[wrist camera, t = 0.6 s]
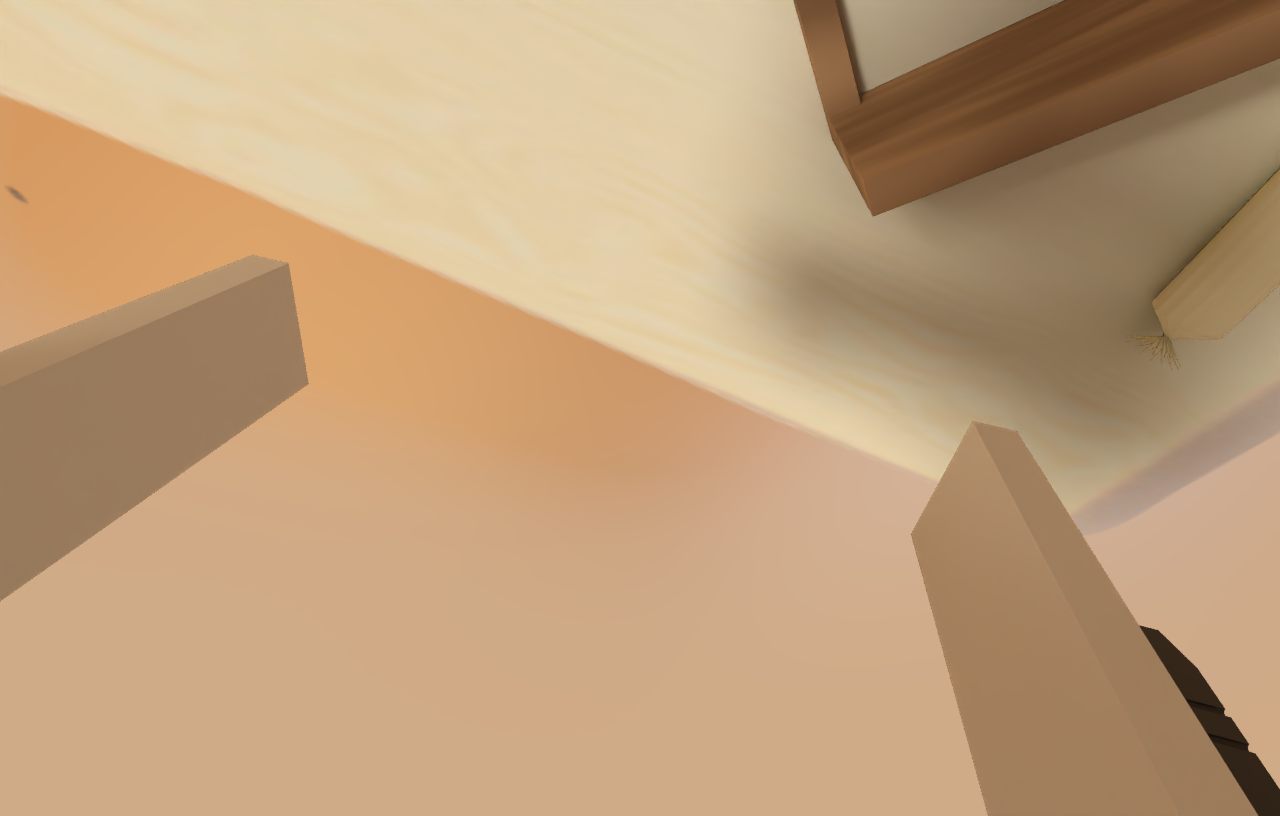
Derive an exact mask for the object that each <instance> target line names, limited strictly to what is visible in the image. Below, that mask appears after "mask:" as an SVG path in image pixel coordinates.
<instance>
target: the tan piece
mask: <svg viewBox="0 0 1280 816" xmlns="http://www.w3.org/2000/svg"><path fill="white" fill-rule="evenodd" d="M1279 284H1280V169H1279V170H1278V171H1277V172H1276V173H1275V174H1274V175H1273V176H1272V177H1271V178H1270V179H1269V180H1268V182H1267V183H1266V184H1265V185H1264V186H1263V187H1262V188H1261V189H1260V190H1259V191H1258V192H1257V193H1256V194H1255V195H1254V196H1253V197H1252V198H1251V199H1250V200H1249V201H1248V202H1247V203H1246V204H1245V205H1244V207H1243V208H1242V209H1241V210H1240V211H1239V212H1238V213H1237V214H1236V215H1235V216H1234V217H1233V218H1232V219H1231V220H1230V221H1229V222H1228V223H1227V224H1226V225H1225V226H1224V227H1223V228H1222V229H1221V230H1220V232H1219V233H1218V234H1217V235H1216V236H1215V237H1214V238H1213V239H1212V240H1211V241H1210V242H1209V243H1208V244H1207V245H1206V246H1205V247H1204V248H1203V249H1202V250H1201V251H1200V252H1199V253H1198V254H1197V255H1196V256H1195V257H1194V259H1193V260H1192V261H1191V262H1190V263H1189V264H1188V265H1187V266H1186V267H1185V268H1184V269H1183V270H1182V271H1181V272H1180V273H1179V274H1178V275H1177V276H1176V277H1175V278H1174V279H1173V280H1172V281H1171V282H1170V283H1169V284H1168V285H1167V286H1166V287H1165V289H1164V290H1163V291H1162V292H1161V293H1160V294H1159V295H1158V296H1157V297H1156V298H1155V299H1154V300H1153V304H1152V305H1153V307H1154V310H1155V312H1156V314H1157V317H1158V319H1159V321H1160V324H1161V327H1162V330H1163V336H1134V337H1129V338H1137V339H1139V340H1133V341H1147V342H1144V343H1142V344H1139V345H1136V346H1140V345H1147V344H1151V345H1150V346H1149V347H1147V348H1146V349H1145V350H1144V351H1146V350H1149V349H1151V348H1154V347H1156V349H1155V351H1154V353H1153V355H1152V357H1153V356H1154V355H1156V354H1157V353H1158V352H1159V351H1160V350H1161V361H1163V358H1164V356H1165V353H1167V356H1168V360H1169V364H1170V366H1171V362H1170V354H1171V356H1172V358H1173V360H1174V363H1175V364H1176V361H1175V359H1176V360H1177V362H1178V359H1177V356H1176V354H1175V351H1174V349H1173V346H1172V344H1171V340H1172V339H1218V338H1222V337H1223V336H1224V335H1225V334H1227V333H1228V332H1229V331H1230V330H1231V329H1232V328H1233V327H1234V326H1235V325H1236V324H1237V323H1238V322H1240V321H1241V320H1242V319H1243V318H1244V317H1245V316H1246V315H1247V314H1248V313H1249V312H1250V311H1251V310H1252V309H1254V308H1255V307H1256V306H1257V305H1258V304H1259V303H1260V302H1261V301H1262V300H1263V299H1264V298H1265V297H1267V296H1268V295H1269V294H1270V293H1271V292H1272V291H1273V290H1274V289H1275V288H1276V287H1277V286H1278V285H1279ZM1127 342H1128V341H1127ZM1144 351H1143V352H1144ZM1140 354H1141V353H1140ZM1173 355H1174V356H1173ZM1174 357H1175V359H1174ZM1151 359H1152V358H1151ZM1178 363H1179V362H1178ZM1179 365H1180V364H1179ZM1176 366H1177V364H1176ZM1180 367H1181V366H1180ZM1177 368H1178V367H1177ZM1171 369H1172V368H1171Z"/></svg>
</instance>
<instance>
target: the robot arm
mask: <svg viewBox="0 0 1280 816" xmlns="http://www.w3.org/2000/svg"><path fill="white" fill-rule="evenodd" d="M306 385H308V378H307V372H306V366H305V360H304V354H303V348H302V342H301V336H300V329H299V323H298V318H297V311H296V305H295V300H294V294H293V288H292V281H291V275H290V269H289V264H288V263H285V262H281V261H277V260H273V259H268V258H264V257H260V256H255V255H251V256H249V257H246V258H243V259H241V260H238V261H236V262H233V263H231V264H228V265H226V266H223V267H220V268H217V269H215V270H212V271H210V272H207V273H204V274H202V275H199V276H197V277H194V278H191V279H189V280H186V281H184V282H181V283H178V284H176V285H173V286H171V287H168V288H165V289H163V290H160V291H158V292H155V293H152V294H150V295H147V296H145V297H142V298H139V299H137V300H134V301H132V302H129V303H127V304H124V305H121V306H119V307H116V308H114V309H111V310H108V311H106V312H103V313H100V314H98V315H95V316H93V317H90V318H87V319H85V320H82V321H80V322H77V323H74V324H72V325H69V326H67V327H64V328H62V329H59V330H56V331H54V332H51V333H48V334H46V335H43V336H41V337H38V338H35V339H33V340H30V341H28V342H25V343H23V344H20V345H17V346H15V347H12V348H10V349H7V350H4V351H2V352H0V601H1V600H3V599H4V598H6V597H7V596H8V595H10V594H11V593H13V592H14V591H15V590H17V589H18V588H20V587H21V586H23V585H24V584H25V583H27V582H28V581H30V580H31V579H33V578H34V577H35V576H37V575H38V574H40V573H41V572H42V571H44V570H45V569H47V568H48V567H49V566H51V565H52V564H54V563H55V562H57V561H58V560H59V559H61V558H62V557H64V556H65V555H66V554H68V553H69V552H71V551H72V550H74V549H75V548H76V547H78V546H79V545H81V544H82V543H83V542H85V541H86V540H88V539H89V538H91V537H92V536H93V535H95V534H96V533H98V532H99V531H101V530H102V529H103V528H105V527H106V526H108V525H109V524H110V523H112V522H113V521H115V520H116V519H118V518H119V517H120V516H122V515H123V514H125V513H126V512H128V511H129V510H130V509H132V508H133V507H134V506H136V505H137V504H139V503H140V502H142V501H143V500H145V499H146V498H147V497H149V496H150V495H152V494H153V493H155V492H156V491H157V490H159V489H160V488H162V487H163V486H164V485H166V484H167V483H169V482H170V481H171V480H173V479H174V478H176V477H177V476H178V475H180V474H181V473H183V472H184V471H186V470H187V469H189V468H190V467H191V466H193V465H194V464H196V463H197V462H198V461H200V460H201V459H203V458H204V457H206V456H207V455H208V454H210V453H211V452H213V451H214V450H215V449H217V448H218V447H220V446H221V445H222V444H224V443H225V442H227V441H228V440H230V439H231V438H233V437H234V436H235V435H237V434H238V433H240V432H241V431H242V430H244V429H245V428H247V427H248V426H250V425H251V424H252V423H254V422H255V421H257V420H258V419H259V418H261V417H262V416H264V415H265V414H266V413H268V412H269V411H271V410H272V409H274V408H275V407H276V406H278V405H279V404H281V403H282V402H283V401H285V400H286V399H288V398H289V397H291V396H292V395H294V394H295V393H296V392H298V391H299V390H301V389H302V388H303V387H305V386H306ZM911 536H912V540H913V544H914V547H915V551H916V554H917V558H918V562H919V565H920V569H921V573H922V576H923V580H924V584H925V587H926V591H927V595H928V598H929V602H930V606H931V609H932V613H933V617H934V620H935V624H936V627H937V631H938V635H939V639H940V642H941V645H942V649H943V653H944V657H945V660H946V664H947V668H948V671H949V675H950V679H951V682H952V686H953V690H954V693H955V697H956V701H957V704H958V708H959V711H960V715H961V719H962V722H963V726H964V730H965V733H966V737H967V741H968V744H969V748H970V752H971V755H972V759H973V763H974V766H975V770H976V774H977V777H978V781H979V785H980V788H981V792H982V796H983V799H984V803H985V806H986V810H987V814H988V816H1280V789H1279V788H1278V786H1277V785H1276V783H1275V782H1274V780H1273V779H1272V777H1271V776H1270V774H1269V773H1268V772H1267V770H1266V768H1265V767H1264V766H1263V764H1262V763H1261V761H1260V760H1259V758H1258V757H1257V755H1256V754H1255V753H1252V752H1249V751H1248V745H1249V743H1248V742H1247V740H1246V739H1245V738H1244V736H1243V735H1242V733H1241V732H1240V731H1239V729H1238V727H1237V726H1236V724H1235V723H1234V721H1233V720H1232V718H1231V717H1227V716H1225V714H1224V710H1225V708H1224V707H1223V705H1222V704H1221V702H1220V701H1219V699H1218V698H1217V696H1216V695H1215V693H1214V692H1213V690H1212V689H1211V688H1210V686H1209V685H1208V683H1207V682H1206V680H1205V679H1204V677H1203V676H1202V674H1201V673H1200V671H1199V670H1198V668H1197V667H1195V665H1193V664H1192V663H1191V662H1190V661H1189V660H1188V659H1187V658H1186V657H1185V656H1184V655H1183V654H1182V653H1181V652H1180V651H1179V650H1178V649H1177V648H1176V647H1175V646H1174V645H1173V644H1172V643H1171V642H1170V641H1169V640H1168V639H1167V638H1166V637H1164V635H1163V634H1161V633H1160V632H1159V631H1158V630H1155V629H1151V628H1147V627H1144V626H1139V625H1138V623H1137V622H1136V620H1135V619H1134V617H1133V615H1132V614H1131V612H1130V611H1129V609H1128V607H1127V606H1126V604H1125V603H1124V601H1123V599H1122V598H1121V596H1120V595H1119V593H1118V591H1117V590H1116V588H1115V587H1114V585H1113V584H1112V582H1111V580H1110V579H1109V577H1108V576H1107V574H1106V572H1105V571H1104V569H1103V568H1102V566H1101V564H1100V563H1099V561H1098V560H1097V558H1096V556H1095V555H1094V553H1093V552H1092V550H1091V548H1090V547H1089V545H1088V544H1087V542H1086V541H1085V539H1084V537H1083V536H1082V534H1081V533H1080V531H1079V529H1078V528H1077V526H1076V525H1075V523H1074V521H1073V520H1072V518H1071V517H1070V515H1069V513H1068V512H1067V510H1066V509H1065V507H1064V505H1063V504H1062V502H1061V501H1060V499H1059V498H1058V496H1057V494H1056V493H1055V491H1054V490H1053V488H1052V486H1051V485H1050V483H1049V482H1048V480H1047V478H1046V477H1045V475H1044V474H1043V472H1042V470H1041V469H1040V467H1039V466H1038V464H1037V462H1036V461H1035V459H1034V458H1033V456H1032V455H1031V453H1030V451H1029V450H1028V448H1027V447H1026V445H1025V443H1024V442H1023V440H1022V439H1021V437H1020V435H1019V434H1018V432H1017V431H1012V430H1008V429H1004V428H999V427H995V426H991V425H986V424H982V423H978V422H972V423H971V425H970V427H969V429H968V431H967V433H966V434H965V436H964V438H963V440H962V442H961V443H960V445H959V447H958V449H957V451H956V453H955V454H954V456H953V458H952V460H951V462H950V464H949V465H948V467H947V469H946V471H945V473H944V475H943V476H942V478H941V480H940V482H939V484H938V486H937V487H936V489H935V491H934V493H933V495H932V497H931V498H930V501H929V502H928V504H927V506H926V508H925V509H924V511H923V513H922V515H921V517H920V519H919V520H918V522H917V524H916V526H915V528H914V530H913V531H912V533H911Z"/></svg>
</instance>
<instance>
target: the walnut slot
mask: <svg viewBox="0 0 1280 816" xmlns="http://www.w3.org/2000/svg"><path fill="white" fill-rule="evenodd" d="M794 4H795V8H796V11H797V15H798V18H799V22H800V25H801V29H802V33H803V36H804V40H805V43H806V47H807V51H808V54H809V58H810V61H811V65H812V68H813V72H814V76H815V79H816V83H817V86H818V90H819V94H820V97H821V101H822V104H823V108H824V111H825V115H826V119H827V122H828V126H829V129H830V133H831V137H832V140H833V142H834V144H835V146H836V148H837V150H838V151H839V153H840V155H841V157H842V159H843V161H844V163H845V165H846V166H847V168H848V170H849V172H850V174H851V176H852V178H853V180H854V182H855V183H856V185H857V187H858V189H859V191H860V193H861V195H862V197H863V199H864V200H865V202H866V204H867V206H868V208H869V210H870V212H871V214H872V216H876V215H878V214H881V213H883V212H886V211H888V210H891V209H894V208H896V207H899V206H901V205H904V204H906V203H909V202H912V201H914V200H917V199H919V198H922V197H924V196H927V195H929V194H932V193H935V192H937V191H940V190H942V189H945V188H947V187H950V186H953V185H955V184H958V183H960V182H963V181H965V180H968V179H971V178H973V177H976V176H978V175H981V174H983V173H986V172H989V171H991V170H994V169H996V168H999V167H1001V166H1004V165H1007V164H1009V163H1012V162H1014V161H1017V160H1019V159H1022V158H1025V157H1027V156H1030V155H1032V154H1035V153H1037V152H1040V151H1043V150H1045V149H1048V148H1050V147H1053V146H1055V145H1058V144H1060V143H1063V142H1066V141H1068V140H1071V139H1073V138H1076V137H1078V136H1081V135H1084V134H1086V133H1089V132H1091V131H1094V130H1096V129H1099V128H1102V127H1104V126H1107V125H1109V124H1112V123H1114V122H1117V121H1120V120H1122V119H1125V118H1127V117H1130V116H1132V115H1135V114H1138V113H1140V112H1143V111H1145V110H1148V109H1150V108H1153V107H1156V106H1158V105H1161V104H1163V103H1166V102H1168V101H1171V100H1174V99H1176V98H1179V97H1181V96H1184V95H1186V94H1189V93H1191V92H1194V91H1197V90H1199V89H1202V88H1204V87H1207V86H1209V85H1212V84H1215V83H1217V82H1220V81H1222V80H1225V79H1227V78H1230V77H1233V76H1235V75H1238V74H1240V73H1243V72H1245V71H1248V70H1251V69H1253V68H1256V67H1258V66H1261V65H1263V64H1266V63H1269V62H1271V61H1274V60H1276V59H1279V58H1280V0H1064V1H1062V2H1060V3H1058V4H1056V5H1054V6H1051V7H1049V8H1047V9H1045V10H1043V11H1040V12H1038V13H1036V14H1034V15H1032V16H1030V17H1027V18H1025V19H1023V20H1021V21H1019V22H1017V23H1014V24H1012V25H1010V26H1008V27H1006V28H1004V29H1001V30H999V31H997V32H995V33H993V34H991V35H988V36H986V37H984V38H982V39H980V40H978V41H975V42H973V43H971V44H969V45H967V46H965V47H962V48H960V49H958V50H956V51H954V52H952V53H949V54H947V55H945V56H943V57H941V58H939V59H936V60H934V61H932V62H930V63H928V64H926V65H923V66H921V67H919V68H917V69H915V70H913V71H910V72H908V73H906V74H904V75H902V76H900V77H897V78H895V79H893V80H891V81H889V82H887V83H884V84H882V85H880V86H878V87H876V88H874V89H871V90H869V91H867V92H865V93H863V94H861V95H858V91H857V87H856V83H855V78H854V74H853V70H852V66H851V62H850V58H849V54H848V50H847V46H846V42H845V37H844V33H843V29H842V25H841V21H840V17H839V13H838V9H837V5H836V1H835V0H794Z"/></svg>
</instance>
